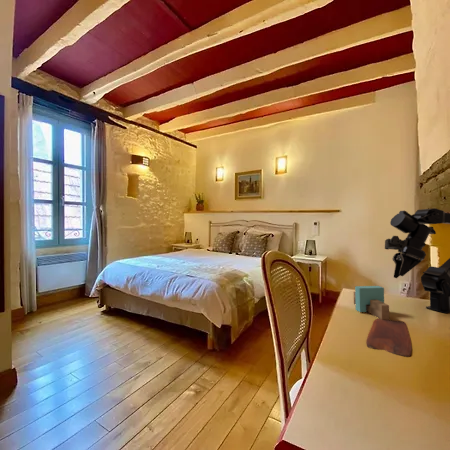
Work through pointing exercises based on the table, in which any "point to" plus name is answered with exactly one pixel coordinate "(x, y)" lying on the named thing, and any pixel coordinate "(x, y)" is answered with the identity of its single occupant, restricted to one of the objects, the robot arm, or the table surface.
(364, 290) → the teal flat block
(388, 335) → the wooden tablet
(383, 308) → the walnut notched bar
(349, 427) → the table surface
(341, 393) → the table surface
